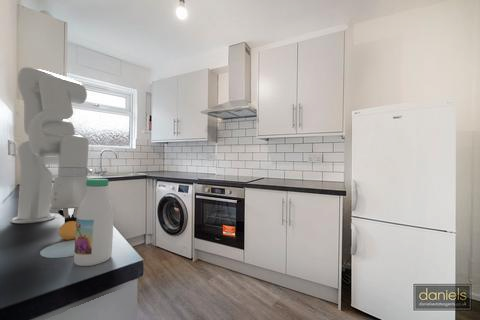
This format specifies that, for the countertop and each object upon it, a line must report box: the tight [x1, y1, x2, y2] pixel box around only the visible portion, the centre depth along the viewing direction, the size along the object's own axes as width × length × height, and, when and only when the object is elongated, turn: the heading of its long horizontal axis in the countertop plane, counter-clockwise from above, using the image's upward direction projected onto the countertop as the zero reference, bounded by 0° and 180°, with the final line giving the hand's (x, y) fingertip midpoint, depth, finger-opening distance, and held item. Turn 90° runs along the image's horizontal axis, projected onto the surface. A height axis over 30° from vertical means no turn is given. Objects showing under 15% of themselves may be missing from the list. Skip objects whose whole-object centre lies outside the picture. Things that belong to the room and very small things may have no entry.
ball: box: [58, 221, 76, 241], centre depth 66 cm, size 6×6×6 cm
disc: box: [39, 239, 75, 259], centre depth 59 cm, size 13×13×1 cm
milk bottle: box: [73, 178, 114, 267], centre depth 53 cm, size 8×8×20 cm
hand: (70, 229), depth 70 cm, fingers closed
